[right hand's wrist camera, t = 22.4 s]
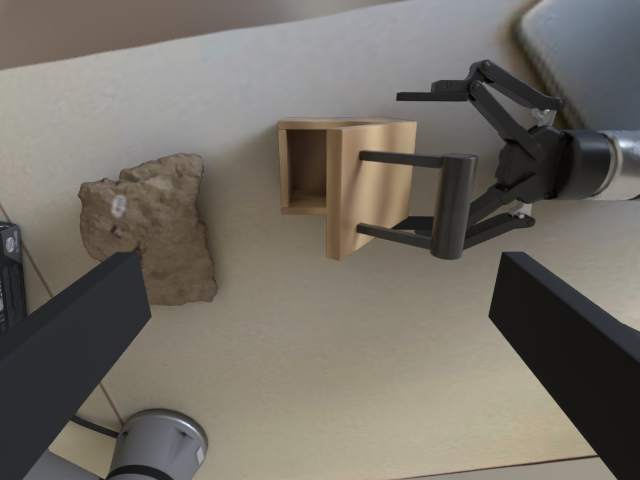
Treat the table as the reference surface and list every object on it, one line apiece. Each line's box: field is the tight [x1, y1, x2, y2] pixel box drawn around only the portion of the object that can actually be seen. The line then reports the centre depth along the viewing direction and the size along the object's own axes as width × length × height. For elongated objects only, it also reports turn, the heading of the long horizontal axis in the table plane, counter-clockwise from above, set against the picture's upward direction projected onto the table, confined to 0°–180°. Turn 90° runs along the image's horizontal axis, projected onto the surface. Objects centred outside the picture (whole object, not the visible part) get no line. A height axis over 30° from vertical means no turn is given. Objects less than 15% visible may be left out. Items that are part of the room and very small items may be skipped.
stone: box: [78, 153, 217, 306], centre depth 44 cm, size 21×15×6 cm
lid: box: [326, 121, 478, 261], centre depth 27 cm, size 13×10×9 cm
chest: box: [278, 118, 406, 214], centre depth 39 cm, size 13×10×9 cm
